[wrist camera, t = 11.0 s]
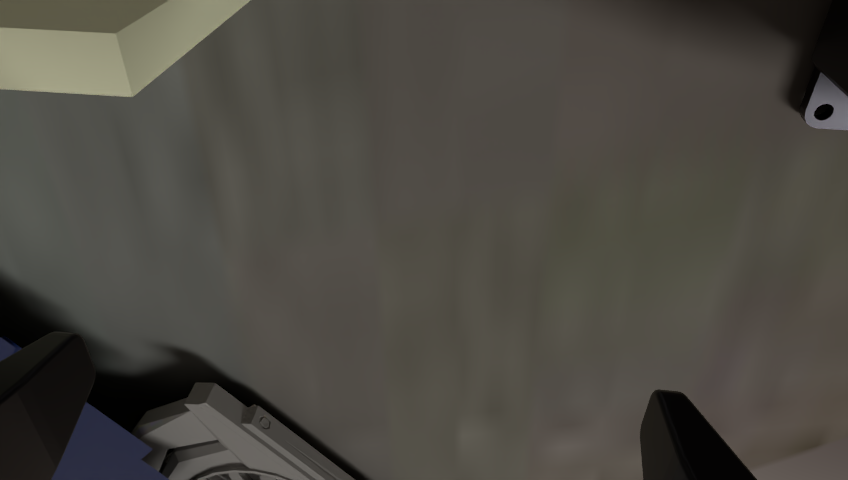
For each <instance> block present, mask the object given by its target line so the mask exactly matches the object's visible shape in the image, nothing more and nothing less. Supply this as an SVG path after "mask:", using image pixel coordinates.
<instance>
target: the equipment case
mask: <svg viewBox="0 0 848 480" xmlns="http://www.w3.org/2000/svg"><path fill="white" fill-rule="evenodd" d="M249 1H250V0H0V89H9V90H25V91H42V92H58V93H75V94H91V95H108V96H124V97H133V96H134V95H136V94H137V93H138V92H139V91H141V90H142V89H143V88H144V87H145V86H147V85H148V84H149V83H150V82H152V81H153V80H154V79H155V78H156V77H158V76H159V75H160V74H161V73H163V72H164V71H165V70H166V69H167V68H169V67H170V66H171V65H172V64H173V63H175V62H176V61H177V60H178V59H180V58H181V57H182V56H183V55H184V54H186V53H187V52H188V51H189V50H191V49H192V48H193V47H194V46H195V45H197V44H198V43H199V42H200V41H202V40H203V39H204V38H205V37H206V36H208V35H209V34H210V33H211V32H213V31H214V30H215V29H216V28H217V27H219V26H220V25H221V24H222V23H223V22H225V21H226V20H227V19H228V18H230V17H231V16H232V15H233V14H234V13H236V12H237V11H238V10H239V9H241V8H242V7H243V6H244V5H245V4H247V3H248V2H249Z"/></svg>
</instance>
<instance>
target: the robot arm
mask: <svg viewBox="0 0 848 480" xmlns="http://www.w3.org/2000/svg"><path fill="white" fill-rule="evenodd" d="M812 61H813V63H814V64H815V69H814V71H813V74H812V77H811V79H810V82H809V84H808V87H807V90H806V92H805V95H804V98H803V100H802V103H801V105H800V115H801V117H802V118H803V119H804V121H805V122H806V123H807V124H808V125H810V126H811V127H814V128H821V129H838V130H848V0H833V2H832V4H831V7H830V10H829V12H828V15H827V18H826V20H825V23H824V26H823V29H822V31H821V34H820V37H819V39H818V42H817V45H816V47H815V50H814V53H813V55H812ZM823 104H828V107H827V109H826V110H825V111H824V112H823V113H821V114H817V115H814V111H815V110H816V109H817V107H819V106H821V105H823ZM94 381H95V367H94V364H93V362H92V359H91V357H90V354H89V352H88V349H87V347H86V344H85V341H84V339H83V338H82V337H81V336H80V335H79V334H77V333H69V332H58V331H57V332H52V333H49V334H47V335H45V336H44V337H42V338H40V339H38V340H37V341H35V342H33V343H31V344H30V345H28V346H26V347H24V348H23V349H21V350H19V351H17V352H16V353H14V354H12V355H10V356H9V357H7V358H5V359H3V360H2V361H0V480H51V479H52V477H53V475H54V473H55V472H56V470H57V468H58V465H59V463H60V461H61V459H62V457H63V455H64V452H65V450H66V448H67V445H68V443H69V441H70V438H71V436H72V434H73V431H74V429H75V426H76V424H77V422H78V419H79V417H80V415H81V412H82V410H83V408H84V405H85V403H86V401H87V398H88V396H89V394H90V391H91V389H92V387H93V384H94ZM640 443H641V455H642V467H643V480H757V479H756V478H755V477H754V476H753V474H752V473H751V472H750V471H749V470H748V468H747V467H746V466H745V465H744V464H743V463H742V461H741V460H740V459H739V458H738V457H737V455H736V454H735V453H734V452H733V451H732V450H731V448H730V447H729V446H728V445H727V444H726V442H725V441H724V440H723V439H722V438H721V437H720V435H719V434H718V433H717V432H716V431H715V429H714V428H713V427H712V426H711V425H710V424H709V422H708V421H707V420H706V419H705V418H704V416H703V415H702V414H701V413H700V412H699V411H698V409H697V408H696V407H695V406H694V405H693V403H692V402H691V401H690V400H689V399H688V398H687V396H686V395H684V394H683V393H681V392H678V391H668V390H655V391H654V392H653V393H652V395H651V397H650V400H649V403H648V406H647V409H646V412H645V415H644V418H643V421H642V424H641V430H640Z"/></svg>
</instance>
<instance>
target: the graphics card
mask: <svg viewBox="0 0 848 480" xmlns="http://www.w3.org/2000/svg"><path fill="white" fill-rule="evenodd" d="M131 434H132V435H133V436H135V437H136V438H138V439H139V440H141V441H142V442H143V443H145V444H146V445H148V446H149V447H150V448H152V450H151V451H150V452H149V453H148V454H147V455H146V456H144V457H143V458H142V459H141V460H143V461H144V462H145V463H147V464H148V465H150V466H151V467H152V468H154V469H155V470H157V471H158V472H160V473H161V474H162V475H164V476H165V477H167V478H168V479H169V480H355V479H354V478H352V477H351V476H350V475H348V474H347V473H346V472H344V471H343V470H342V469H340V468H339V467H338V466H336V465H335V464H334V463H333V462H331V461H330V460H329V459H327V458H326V457H325V456H323V455H322V454H321V453H320V452H318V451H317V450H316V449H314V448H313V447H312V446H310V445H309V444H308V443H307V442H305V441H304V440H303V439H301V438H300V437H299V436H297V435H296V434H295V433H293V432H292V431H291V430H290V429H288V428H287V427H286V426H284V425H283V424H282V423H280V422H279V421H278V420H277V419H275V418H274V417H273V416H271V415H270V414H269V413H267V412H266V411H265V410H264V409H262V408H261V407H260V406H256V405H255V404H254V405H252V406H250V407H246V406H245V405H244V404H242V403H241V402H240V401H238V400H237V399H236V398H234V397H233V396H232V395H231V394H229V393H228V392H227V391H225V390H224V389H223V388H221V387H220V386H219V385H217V384H216V383H199V382H196V383H195V385H194V386H193V388H192V390H191V392H190V394H189V396H188V398H185V399H182V400H179V401H176V402H173V403H170V404H167V405H164V406H161V407H158V408H155V409H152V410H149V411H146V413H145V414H144V416H143V417H142V418H141V420H140V421H139V422H138V424H137V425H136V426H135V428H134V429H133V430H132V432H131ZM171 448H174V449H173V452H171V453H170V454H168V455H167V453H168V451H169V449H171ZM166 456H167V457H166ZM165 458H166V459H165ZM164 460H165V461H164Z"/></svg>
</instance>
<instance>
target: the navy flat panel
mask: <svg viewBox="0 0 848 480" xmlns="http://www.w3.org/2000/svg"><path fill="white" fill-rule="evenodd" d="M21 349H22V348H21V347H19V346H18V345H16V344H15V343H14V342H12V341H11V340H10V339H8V338H7V337H5V336H3V338H1V337H0V361H2V360H3V359H5V358H7V357H9V356H10V355H12V354H14V353H16V352H17V351H19V350H21ZM151 450H152V448H150V447H149V446H148V445H146V444H145V443H143V442H142V441H141V440H139V439H138V438H136V437H135V436H133V435H132V434H131V433H129V432H128V431H126V430H125V429H124V428H122V427H121V426H119V425H118V424H117V423H115V422H114V421H112V420H111V419H110V418H108V417H107V416H105V415H104V414H103V413H101V412H100V411H98V410H97V409H96V408H94V407H93V406H91V405H90V404H89V403H87V402H86V403H85V405H84V408H83V410H82V412H81V415H80V417H79V419H78V422H77V424H76V426H75V429H74V431H73V434H72V436H71V438H70V441H69V443H68V445H67V448H66V450H65V452H64V455H63V457H62V459H61V461H60V463H59V465H58V468H57V470H56V472H55V473H54V475H53V477H52V479H51V480H169V479H168V478H167V477H165V476H164V475H162V474H161V473H160V472H158V471H157V470H155V469H154V468H152V467H151V466H150V465H148V464H147V463H145V462H144V461H143V460H141V459H142V458H143V457H144V456H146V455H147V454H148V453H149V452H150V451H151Z"/></svg>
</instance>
